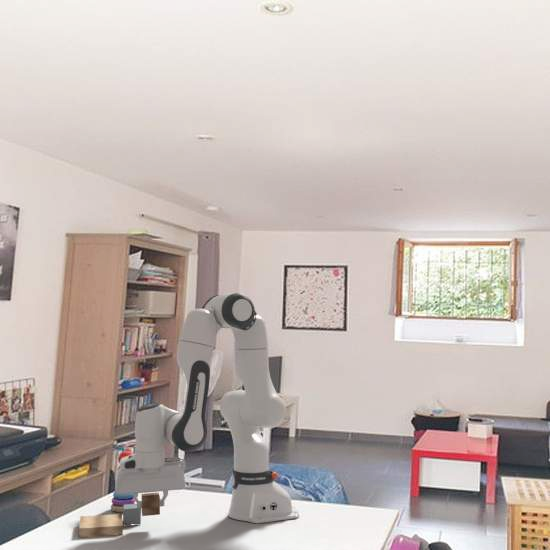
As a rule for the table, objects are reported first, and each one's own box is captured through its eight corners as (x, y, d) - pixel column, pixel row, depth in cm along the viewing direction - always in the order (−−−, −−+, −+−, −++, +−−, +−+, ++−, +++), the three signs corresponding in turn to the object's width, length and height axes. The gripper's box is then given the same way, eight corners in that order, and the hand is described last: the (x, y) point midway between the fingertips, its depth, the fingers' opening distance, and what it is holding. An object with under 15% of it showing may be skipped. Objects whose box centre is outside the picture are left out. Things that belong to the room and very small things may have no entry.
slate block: (139, 520, 197) (140, 503, 197) (140, 525, 192) (141, 507, 193) (123, 521, 196) (123, 504, 196) (123, 526, 191) (124, 509, 191)
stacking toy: (129, 514, 203) (131, 453, 205) (106, 512, 205) (108, 452, 206) (139, 507, 211) (141, 449, 213) (117, 505, 213) (119, 448, 214)
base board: (121, 522, 194) (121, 513, 194) (122, 534, 183) (122, 525, 183) (80, 525, 191) (80, 516, 191) (78, 537, 180) (79, 528, 180)
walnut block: (158, 509, 191) (158, 492, 191) (159, 514, 186) (159, 497, 186) (141, 511, 190) (141, 493, 190) (142, 516, 185) (142, 498, 185)
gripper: (184, 454, 194) (184, 500, 193) (115, 459, 189) (115, 507, 188) (186, 458, 188) (187, 506, 187) (115, 464, 183) (115, 513, 182)
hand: (150, 507), depth 188 cm, fingers closed on walnut block, 5 cm apart
